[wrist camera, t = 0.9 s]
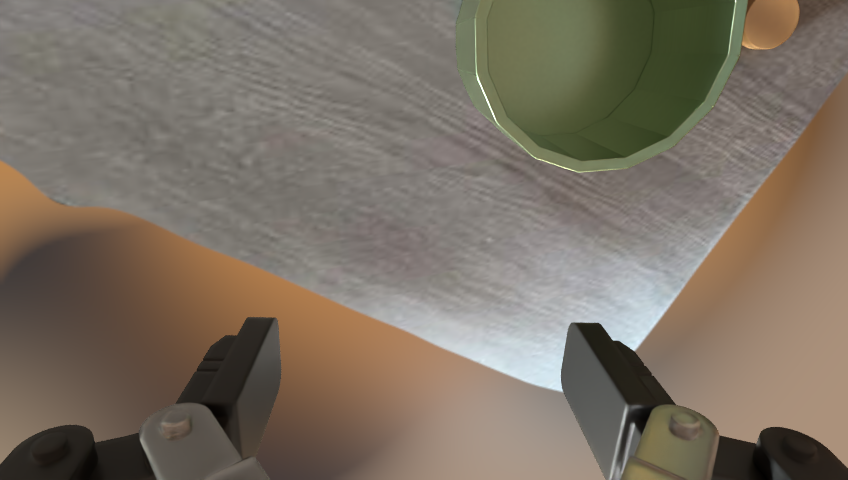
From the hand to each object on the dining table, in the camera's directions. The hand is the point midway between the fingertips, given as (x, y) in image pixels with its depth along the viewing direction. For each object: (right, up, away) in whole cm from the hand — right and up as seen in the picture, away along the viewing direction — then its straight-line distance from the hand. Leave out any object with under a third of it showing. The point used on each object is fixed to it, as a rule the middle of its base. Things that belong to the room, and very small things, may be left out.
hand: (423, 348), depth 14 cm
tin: (+9, +17, +22) cm, 29 cm away
